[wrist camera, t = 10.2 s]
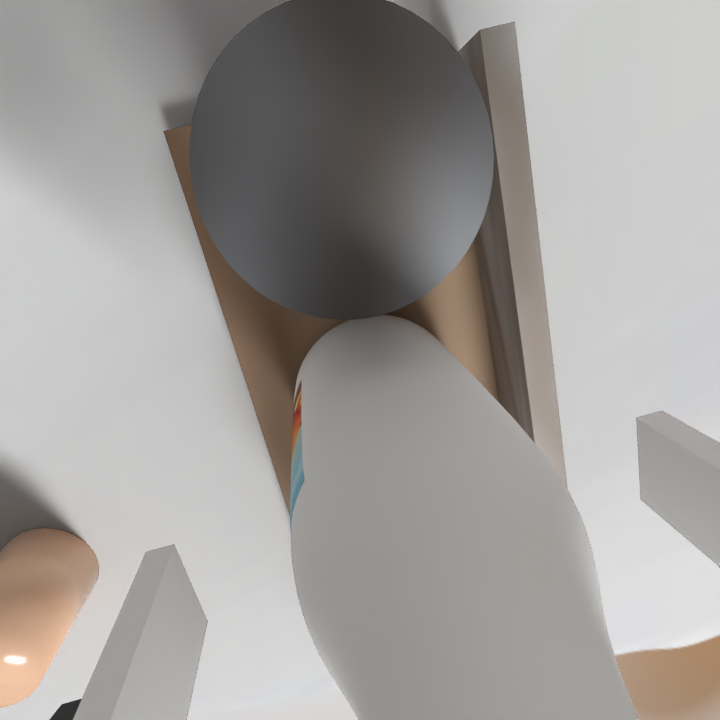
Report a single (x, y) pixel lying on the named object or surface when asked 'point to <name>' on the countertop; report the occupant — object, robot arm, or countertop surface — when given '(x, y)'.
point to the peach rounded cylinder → (39, 604)
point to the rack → (370, 201)
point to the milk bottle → (438, 542)
